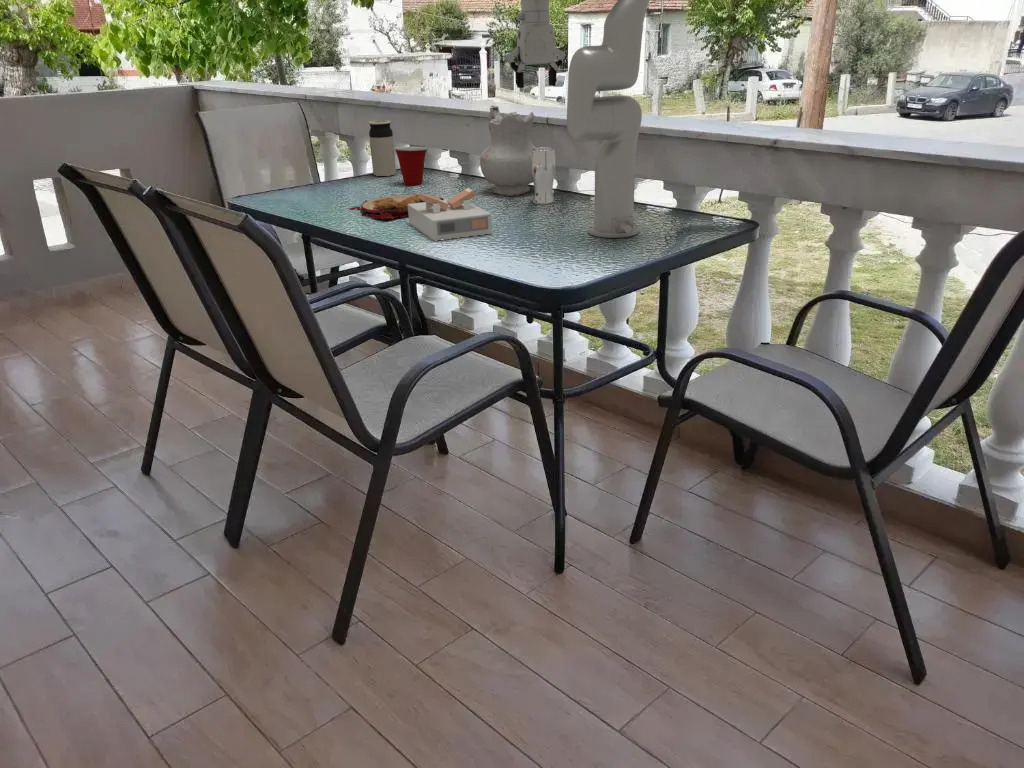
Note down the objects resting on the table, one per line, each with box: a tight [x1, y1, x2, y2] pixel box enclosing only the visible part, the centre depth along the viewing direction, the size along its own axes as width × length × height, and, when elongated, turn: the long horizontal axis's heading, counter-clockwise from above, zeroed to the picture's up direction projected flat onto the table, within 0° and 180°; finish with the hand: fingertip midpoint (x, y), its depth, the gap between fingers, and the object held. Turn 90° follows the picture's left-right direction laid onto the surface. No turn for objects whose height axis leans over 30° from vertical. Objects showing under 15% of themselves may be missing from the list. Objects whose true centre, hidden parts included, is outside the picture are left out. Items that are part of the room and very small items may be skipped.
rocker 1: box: [418, 192, 449, 210], centre depth 198 cm, size 5×7×2 cm
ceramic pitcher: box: [479, 105, 537, 197], centre depth 241 cm, size 22×20×25 cm
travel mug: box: [368, 120, 397, 177], centre depth 274 cm, size 8×8×18 cm
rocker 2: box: [446, 187, 477, 209], centre depth 201 cm, size 5×7×2 cm
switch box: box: [407, 199, 493, 241], centre depth 201 cm, size 22×15×7 cm
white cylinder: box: [531, 146, 556, 205], centre depth 226 cm, size 7×7×15 cm
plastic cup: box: [394, 146, 428, 187], centre depth 258 cm, size 11×11×12 cm
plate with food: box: [348, 193, 445, 220], centre depth 227 cm, size 25×26×4 cm
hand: (536, 86), depth 219 cm, fingers open, 9 cm apart
